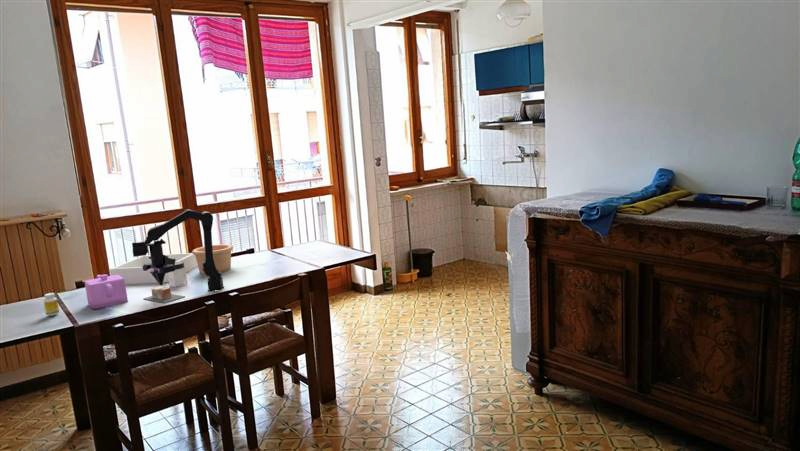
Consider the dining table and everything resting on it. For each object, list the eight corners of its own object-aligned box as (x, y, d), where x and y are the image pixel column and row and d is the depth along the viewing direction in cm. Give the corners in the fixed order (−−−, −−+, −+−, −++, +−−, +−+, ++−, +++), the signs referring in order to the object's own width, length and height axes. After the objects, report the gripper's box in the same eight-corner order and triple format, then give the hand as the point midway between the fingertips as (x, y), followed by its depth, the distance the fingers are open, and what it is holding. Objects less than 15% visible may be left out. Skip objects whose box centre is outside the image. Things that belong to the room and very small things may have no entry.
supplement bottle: (44, 314, 268) (40, 294, 266) (57, 311, 272) (53, 291, 270) (48, 316, 264) (44, 296, 262) (61, 313, 268) (57, 293, 266)
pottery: (210, 279, 314) (207, 253, 312) (187, 275, 328) (184, 250, 325) (243, 270, 331) (240, 245, 329) (220, 266, 345) (217, 243, 342)
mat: (185, 297, 281) (185, 296, 280) (164, 303, 272) (164, 302, 272) (163, 293, 291) (163, 292, 291) (143, 299, 282) (143, 298, 282)
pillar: (170, 287, 281) (159, 286, 286) (161, 290, 277) (151, 288, 282) (171, 296, 282) (160, 294, 287) (163, 299, 278) (152, 297, 283)
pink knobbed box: (118, 294, 296) (114, 267, 294) (130, 303, 276) (126, 275, 274) (85, 301, 287) (80, 274, 285) (95, 311, 267) (90, 282, 265)
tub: (198, 267, 346) (196, 252, 344) (171, 282, 312) (169, 266, 311) (144, 270, 349) (142, 255, 348) (112, 285, 316) (109, 269, 314)
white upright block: (166, 286, 305) (163, 264, 303) (179, 282, 312) (176, 261, 310) (177, 287, 300) (174, 265, 298) (190, 283, 307) (187, 262, 305)
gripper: (182, 251, 279) (187, 282, 282) (160, 249, 290) (165, 279, 293) (162, 256, 271) (166, 288, 273) (140, 253, 281) (144, 284, 284)
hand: (161, 285), depth 281 cm, fingers closed
